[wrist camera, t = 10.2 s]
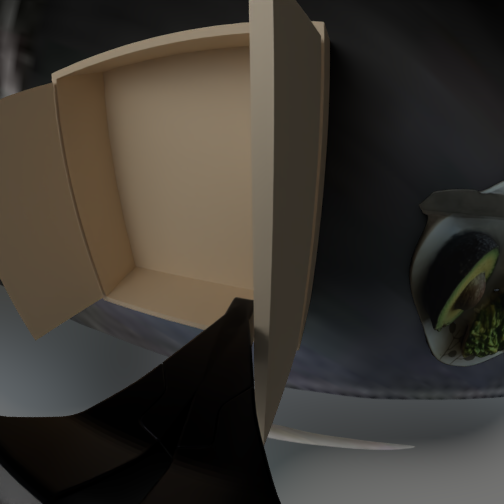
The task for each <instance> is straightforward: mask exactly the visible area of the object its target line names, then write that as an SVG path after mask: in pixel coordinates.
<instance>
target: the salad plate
mask: <svg viewBox="0 0 504 504" xmlns="http://www.w3.org/2000/svg"><path fill="white" fill-rule="evenodd" d="M419 207H420V208H421V210H422V211H423V213H424V214H427V215H428V221H427V224H426V227H425V229H424V231H423V233H422V235H421V237H420V239H419V241H418V244H417V246H416V248H415V251H414V253H413V256H412V261H411V264H410V271H409V280H410V287H411V293H412V296H413V300H414V303H415V306H416V308H417V311H418V314H419V317H420V320H421V323H422V325H423V329H424V332H425V337H426V342H427V344H428V346H429V348H430V351H431V353H432V355H433V356H434V357H436V359H437V360H439V361H440V362H442V363H445V364H447V365H453V366H462V367H464V366H471V365H475V364H478V363H481V362H484V361H486V360H488V359H490V358H493V357H495V356H497V355H499V354H501V353H503V352H504V181H501V182H499V183H498V184H496V185H494V186H492V187H490V188H488V189H485V190H482V191H477V190H474V189H450V190H443V191H435V192H433V193H432V194H431V195H430V196H429V197H428V198H427V199H426V200H424V201H423V202H422V203H421V204H419ZM494 289H499V291H494ZM454 322H455V323H456V324H455V323H454Z"/></svg>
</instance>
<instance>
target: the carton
mask: <svg viewBox="0 0 504 504" xmlns="http://www.w3.org/2000/svg"><path fill="white" fill-rule="evenodd" d="M311 22H312V23H313V25H314V26H315V28H316V29H317V31H318V32H319V34H320V35H321V100H320V128H319V148H318V165H317V179H316V193H315V205H314V216H313V227H312V237H311V247H310V256H309V265H308V274H307V282H306V290H305V298H304V306H303V313H302V320H301V327H300V334H299V341H298V347H297V350H299V348H300V344H301V340H302V336H303V331H304V327H305V323H306V318H307V314H308V310H309V305H310V300H311V294H312V287H313V279H314V272H315V264H316V257H317V248H318V240H319V231H320V222H321V212H322V202H323V191H324V179H325V166H326V152H327V135H328V115H329V86H330V39H329V36H328V33H327V30H326V27H325V24H324V22H314V21H311ZM52 83H53V89H54V100H55V109H56V117H57V125H58V132H59V138H60V144H61V150H62V156H63V161H64V166H65V171H66V176H67V180H68V185H69V189H70V193H71V197H72V201H73V205H74V209H75V213H76V216H77V220H78V223H79V227H80V230H81V234H82V237H83V240H84V243H85V247H86V250H87V253H88V256H89V259H90V262H91V265H92V267H93V270H94V273H95V276H96V279H97V281H98V284H99V287H100V289H101V292H102V294H103V298H104V300H106V301H109V302H112V303H115V304H118V305H121V306H124V307H127V308H130V309H133V310H137V311H140V312H143V313H146V314H150V315H153V316H156V317H160V318H163V319H167V320H170V321H174V322H177V323H181V324H185V325H188V326H192V327H196V328H200V329H204V330H205V329H207V328H208V327H209V326H210V325H212V324H213V323H214V322H215V321H217V320H218V319H219V318H220V317H222V316H223V315H224V314H225V312H226V311H227V309H228V307H229V306H230V304H231V302H232V301H233V299H234V298H235V297H240V298H245V299H251V300H254V297H253V226H252V158H251V93H250V29H249V23H238V24H228V25H219V26H212V27H205V28H199V29H193V30H187V31H182V32H177V33H172V34H167V35H163V36H159V37H154V38H150V39H147V40H143V41H139V42H135V43H132V44H129V45H125V46H122V47H119V48H116V49H113V50H110V51H107V52H104V53H101V54H98V55H95V56H93V57H90V58H87V59H85V60H82V61H80V62H77V63H75V64H73V65H70V66H68V67H66V68H63V69H61V70H59V71H57V72H55V73H52ZM253 341H254V340H253Z"/></svg>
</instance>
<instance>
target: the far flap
mask: <svg viewBox="0 0 504 504" xmlns="http://www.w3.org/2000/svg"><path fill="white" fill-rule="evenodd" d="M0 279H1V281H2V283H3V285H4V287H5V289H6V291H7V293H8V294H9V296H10V298H11V300H12V302H13V304H14V306H15V307H16V309H17V311H18V313H19V314H20V316H21V318H22V320H23V321H24V323H25V325H26V326H27V327H28V329H29V331H30V333H31V334H32V336H33V337H34V339H35V340H37V339H39V338H40V337H42V336H43V335H45V334H46V333H48V332H49V331H51V330H52V329H54V328H56V327H57V326H58V325H60V324H62V323H63V322H65V321H66V320H68V319H70V318H71V317H73V316H74V315H76V314H77V313H79V312H81V311H82V310H84V309H85V308H87V307H88V306H90V305H92V304H93V303H95V302H96V301H98V300H100V299H101V298H103V294H102V292H101V289H100V287H99V284H98V281H97V279H96V276H95V273H94V270H93V267H92V265H91V262H90V259H89V256H88V253H87V250H86V247H85V243H84V240H83V237H82V234H81V230H80V227H79V223H78V220H77V216H76V213H75V209H74V205H73V201H72V197H71V193H70V189H69V185H68V180H67V176H66V171H65V166H64V161H63V156H62V150H61V144H60V138H59V132H58V125H57V117H56V109H55V100H54V89H53V83H49V84H46V85H42V86H38V87H35V88H32V89H28V90H25V91H22V92H19V93H16V94H13V95H10V96H7V97H5V98H2V99H0Z"/></svg>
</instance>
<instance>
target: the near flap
mask: <svg viewBox="0 0 504 504" xmlns="http://www.w3.org/2000/svg"><path fill="white" fill-rule="evenodd" d="M249 29H250V93H251V158H252V226H253V297H254V370H255V403H256V411H257V418H258V423H259V428H260V433H261V437H262V441H263V445H264V444H265V442H266V439H267V436H268V434H269V431H270V428H271V425H272V423H273V420H274V417H275V414H276V411H277V409H278V406H279V403H280V400H281V397H282V394H283V391H284V388H285V385H286V382H287V379H288V376H289V373H290V370H291V366H292V363H293V360H294V357H295V354H296V350H297V347H298V341H299V334H300V327H301V320H302V313H303V306H304V298H305V290H306V282H307V274H308V265H309V256H310V247H311V237H312V227H313V216H314V205H315V193H316V179H317V165H318V148H319V128H320V100H321V35H320V34H319V32H318V31H317V29H316V28H315V26H314V25H313V23H312V22H311V20H310V19H309V18H308V16H307V15H306V14H305V12H304V11H303V9H302V8H301V7H300V5H299V4H298V3H297V2H296V0H249Z"/></svg>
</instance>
